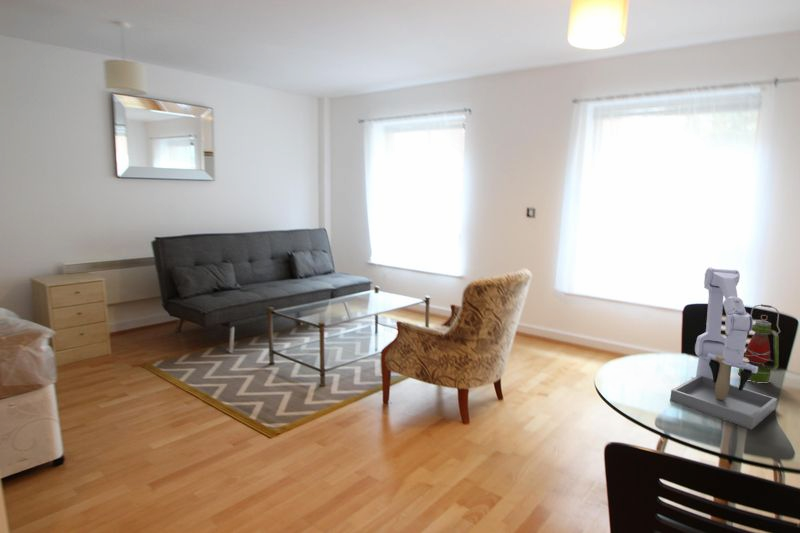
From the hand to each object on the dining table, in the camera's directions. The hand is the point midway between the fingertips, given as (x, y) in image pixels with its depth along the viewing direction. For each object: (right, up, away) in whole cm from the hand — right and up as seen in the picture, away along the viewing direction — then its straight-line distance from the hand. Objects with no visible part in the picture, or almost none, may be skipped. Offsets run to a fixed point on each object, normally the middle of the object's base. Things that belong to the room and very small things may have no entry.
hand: (727, 385), depth 165 cm
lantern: (+27, -3, +25) cm, 37 cm away
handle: (-1, -5, +2) cm, 6 cm away
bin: (-3, -6, -1) cm, 7 cm away
